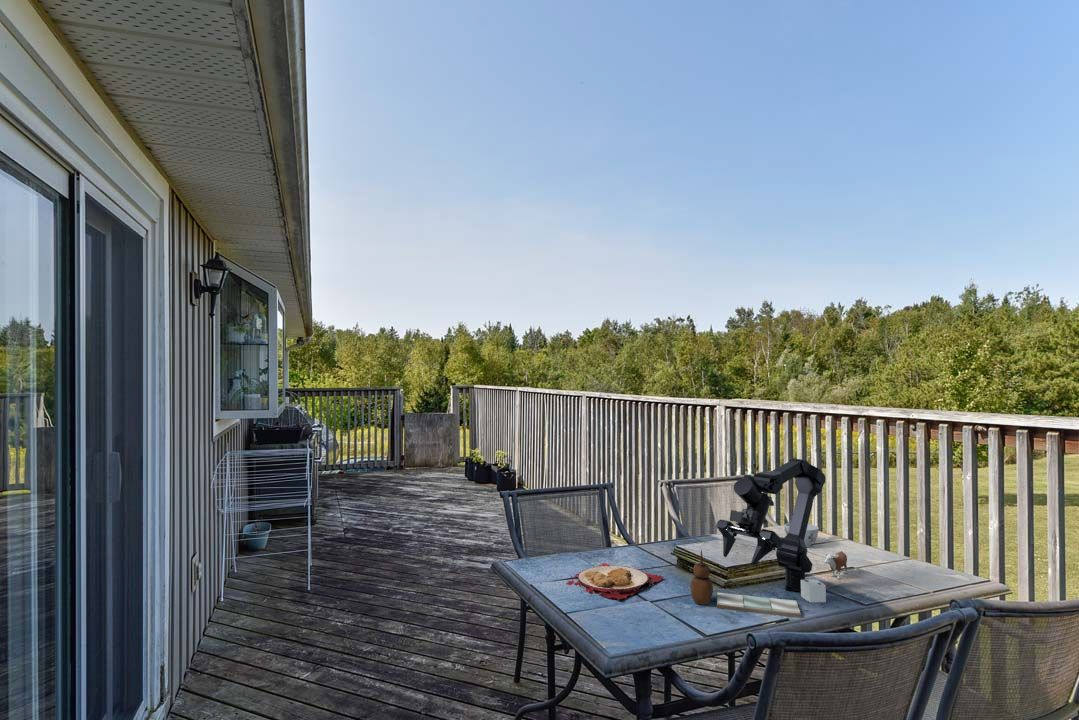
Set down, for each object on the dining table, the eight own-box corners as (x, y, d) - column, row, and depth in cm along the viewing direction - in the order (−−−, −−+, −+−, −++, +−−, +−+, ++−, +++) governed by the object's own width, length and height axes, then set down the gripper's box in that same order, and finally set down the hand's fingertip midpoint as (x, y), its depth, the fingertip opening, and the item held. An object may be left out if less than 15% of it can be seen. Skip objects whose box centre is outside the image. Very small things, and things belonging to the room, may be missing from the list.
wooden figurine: (697, 597, 173) (696, 547, 174) (715, 601, 169) (715, 550, 170) (687, 603, 168) (687, 552, 168) (706, 608, 164) (705, 555, 165)
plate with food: (664, 582, 189) (664, 571, 189) (620, 603, 169) (620, 590, 169) (603, 567, 205) (603, 557, 205) (556, 585, 185) (556, 574, 185)
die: (801, 596, 174) (800, 579, 174) (817, 596, 174) (816, 579, 174) (809, 602, 169) (809, 585, 169) (826, 602, 169) (825, 584, 169)
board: (716, 595, 174) (716, 591, 174) (796, 604, 167) (796, 599, 167) (716, 608, 164) (716, 603, 165) (801, 617, 158) (801, 612, 158)
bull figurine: (822, 578, 189) (821, 554, 190) (838, 570, 198) (837, 546, 198) (835, 582, 186) (835, 557, 186) (851, 573, 195) (851, 549, 195)
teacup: (826, 548, 225) (826, 527, 225) (801, 551, 220) (801, 530, 221) (797, 538, 239) (796, 519, 239) (773, 541, 234) (773, 521, 235)
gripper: (715, 493, 173) (696, 540, 167) (772, 503, 158) (753, 555, 152) (734, 511, 178) (716, 557, 172) (790, 522, 163) (773, 573, 157)
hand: (738, 560), depth 163 cm, fingers open, 9 cm apart
